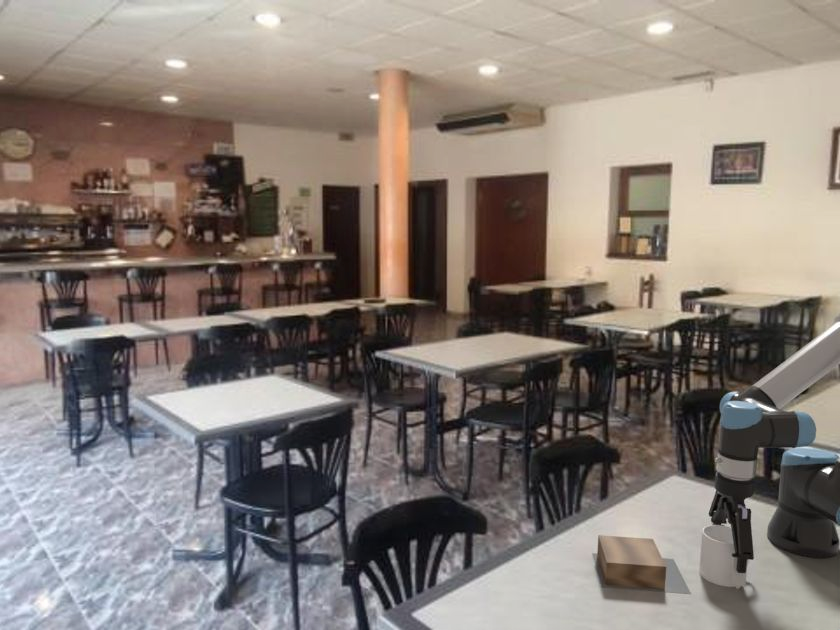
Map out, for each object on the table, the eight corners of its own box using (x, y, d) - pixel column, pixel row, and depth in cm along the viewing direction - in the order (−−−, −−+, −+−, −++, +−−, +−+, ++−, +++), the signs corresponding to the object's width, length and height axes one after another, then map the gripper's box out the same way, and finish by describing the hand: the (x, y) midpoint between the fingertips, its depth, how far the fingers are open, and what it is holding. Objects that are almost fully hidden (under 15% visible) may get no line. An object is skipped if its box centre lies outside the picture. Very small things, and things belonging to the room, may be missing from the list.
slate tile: (673, 563, 146) (673, 558, 145) (690, 599, 132) (691, 593, 132) (591, 558, 148) (592, 553, 148) (601, 592, 134) (601, 586, 134)
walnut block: (651, 559, 145) (652, 538, 144) (664, 589, 133) (666, 566, 133) (597, 555, 147) (598, 535, 146) (605, 584, 135) (606, 562, 134)
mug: (764, 585, 137) (768, 538, 136) (718, 594, 134) (722, 546, 132) (734, 565, 145) (738, 520, 144) (690, 573, 142) (693, 527, 140)
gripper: (699, 452, 149) (691, 538, 152) (737, 497, 124) (728, 598, 127) (733, 455, 148) (724, 541, 151) (778, 500, 123) (768, 602, 126)
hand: (726, 567), depth 139 cm, fingers open, 13 cm apart
